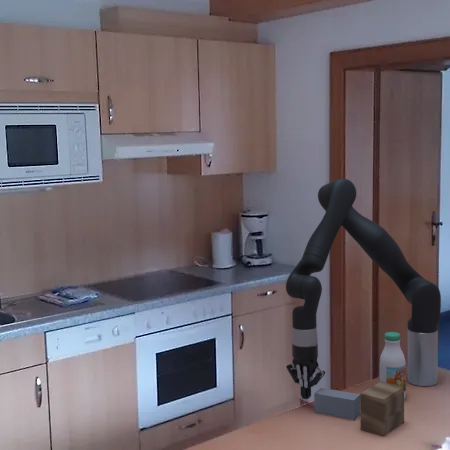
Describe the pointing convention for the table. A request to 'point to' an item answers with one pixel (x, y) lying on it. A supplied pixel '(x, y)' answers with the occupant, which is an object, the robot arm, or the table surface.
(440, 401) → the table surface
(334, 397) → the pale blue brick
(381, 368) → the milk bottle
